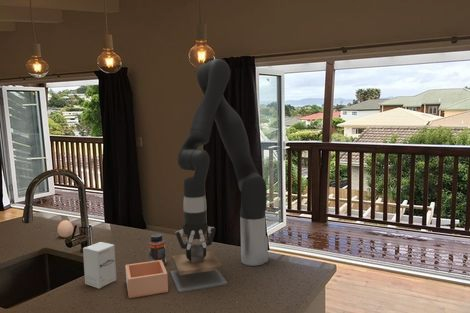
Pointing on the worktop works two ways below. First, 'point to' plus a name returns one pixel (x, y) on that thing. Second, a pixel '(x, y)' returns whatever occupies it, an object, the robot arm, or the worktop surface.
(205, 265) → the lid
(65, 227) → the egg
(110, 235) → the worktop surface
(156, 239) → the supplement bottle
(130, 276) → the open cardboard tray
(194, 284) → the mat
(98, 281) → the supplement box
